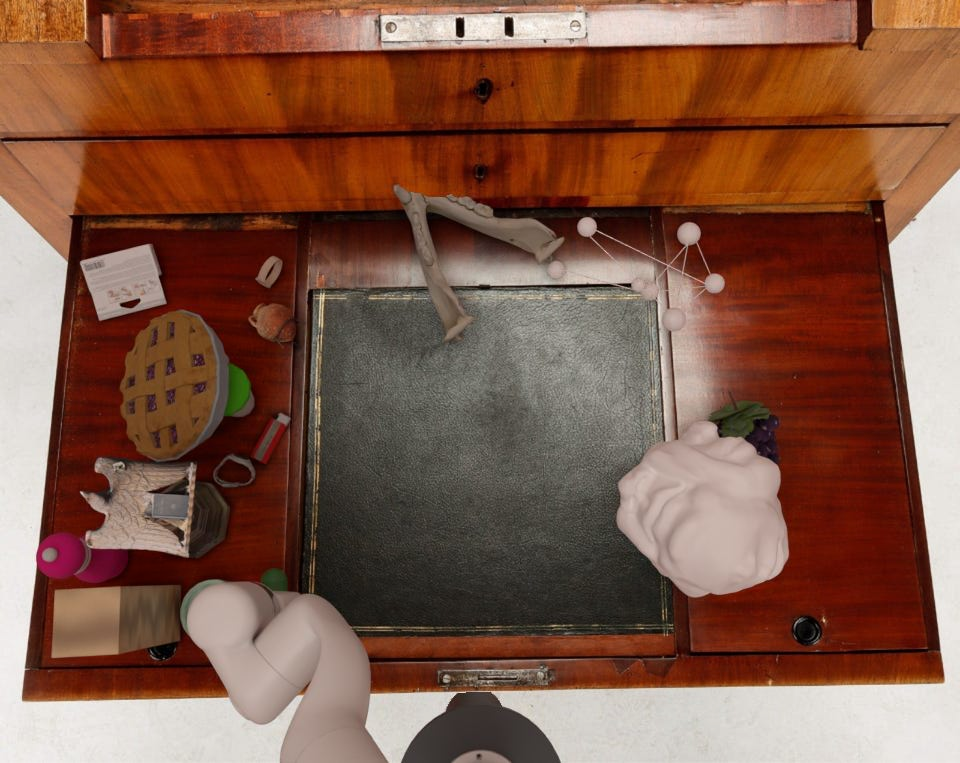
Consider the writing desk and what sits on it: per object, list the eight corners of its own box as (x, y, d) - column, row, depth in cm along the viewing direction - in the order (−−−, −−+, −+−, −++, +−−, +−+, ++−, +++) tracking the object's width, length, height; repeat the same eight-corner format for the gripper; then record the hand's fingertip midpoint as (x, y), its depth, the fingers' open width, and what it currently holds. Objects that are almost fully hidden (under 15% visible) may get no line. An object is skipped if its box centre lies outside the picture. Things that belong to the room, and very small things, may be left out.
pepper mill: (139, 542, 133) (84, 536, 114) (120, 589, 132) (61, 591, 112) (94, 527, 134) (32, 518, 114) (75, 573, 132) (8, 573, 113)
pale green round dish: (248, 640, 131) (242, 642, 127) (187, 643, 130) (179, 645, 127) (248, 577, 133) (243, 577, 129) (188, 581, 132) (180, 581, 129)
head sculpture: (685, 650, 113) (562, 529, 129) (777, 625, 128) (656, 520, 144) (774, 498, 104) (630, 390, 121) (861, 491, 120) (723, 396, 136)
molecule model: (677, 246, 151) (705, 341, 145) (539, 253, 145) (562, 353, 139) (715, 199, 139) (748, 302, 133) (565, 205, 132) (592, 313, 126)
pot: (316, 326, 140) (289, 356, 141) (280, 292, 141) (255, 322, 142) (302, 324, 134) (275, 355, 135) (265, 289, 135) (238, 320, 136)
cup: (260, 373, 139) (237, 349, 125) (269, 421, 138) (246, 403, 123) (211, 384, 139) (181, 361, 124) (219, 432, 137) (189, 415, 122)
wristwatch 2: (254, 484, 133) (248, 451, 133) (213, 491, 133) (207, 458, 133) (259, 480, 137) (253, 448, 136) (219, 487, 137) (214, 455, 136)
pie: (228, 292, 127) (199, 285, 123) (245, 439, 121) (216, 437, 117) (136, 342, 138) (107, 337, 134) (148, 479, 132) (118, 478, 128)
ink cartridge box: (153, 243, 142) (171, 303, 143) (83, 260, 141) (102, 320, 143) (149, 243, 139) (167, 303, 141) (78, 260, 139) (97, 321, 140)
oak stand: (180, 640, 131) (118, 654, 107) (125, 643, 130) (51, 658, 107) (181, 584, 132) (120, 586, 109) (127, 587, 132) (54, 589, 109)
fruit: (808, 470, 131) (776, 378, 129) (748, 500, 130) (714, 407, 127) (771, 459, 141) (740, 373, 139) (714, 487, 140) (682, 400, 137)
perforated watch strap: (259, 284, 143) (251, 274, 138) (275, 260, 144) (268, 249, 139) (273, 292, 142) (266, 282, 137) (289, 268, 143) (283, 257, 138)
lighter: (267, 465, 136) (292, 419, 138) (264, 463, 135) (290, 417, 137) (251, 457, 137) (276, 411, 138) (248, 455, 135) (274, 409, 137)
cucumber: (289, 646, 122) (285, 648, 119) (263, 647, 122) (258, 649, 119) (289, 567, 125) (284, 567, 121) (263, 569, 125) (257, 568, 121)
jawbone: (458, 144, 146) (461, 107, 131) (563, 251, 145) (578, 226, 130) (347, 246, 144) (336, 221, 129) (453, 356, 143) (455, 344, 128)
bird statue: (268, 476, 136) (203, 442, 102) (256, 563, 133) (184, 558, 99) (161, 466, 136) (59, 428, 102) (146, 553, 133) (36, 544, 99)
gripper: (174, 650, 104) (215, 639, 122) (316, 642, 105) (336, 632, 123) (175, 585, 106) (216, 583, 124) (315, 577, 106) (335, 576, 124)
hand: (276, 607), depth 123 cm, fingers closed on cucumber, 3 cm apart
